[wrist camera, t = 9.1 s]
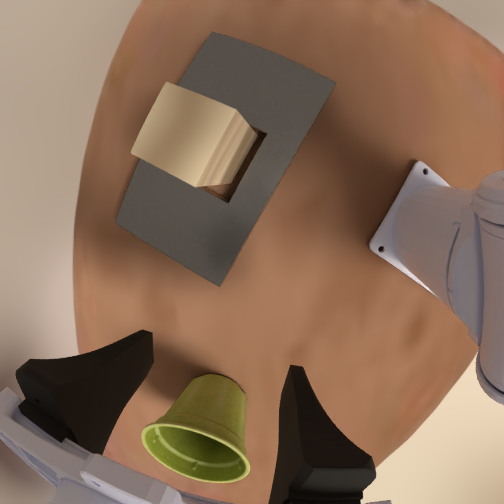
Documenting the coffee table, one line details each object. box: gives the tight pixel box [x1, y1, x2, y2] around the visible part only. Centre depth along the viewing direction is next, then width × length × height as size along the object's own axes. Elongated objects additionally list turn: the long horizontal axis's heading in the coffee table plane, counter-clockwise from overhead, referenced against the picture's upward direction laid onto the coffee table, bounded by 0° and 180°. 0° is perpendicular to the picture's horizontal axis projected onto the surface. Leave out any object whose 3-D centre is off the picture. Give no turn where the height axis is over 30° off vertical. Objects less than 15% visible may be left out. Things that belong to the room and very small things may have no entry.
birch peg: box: [131, 82, 258, 187], centre depth 15 cm, size 4×4×8 cm
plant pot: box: [141, 374, 250, 483], centre depth 21 cm, size 9×9×9 cm
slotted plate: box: [115, 32, 336, 287], centre depth 19 cm, size 10×17×2 cm, turn 151°
